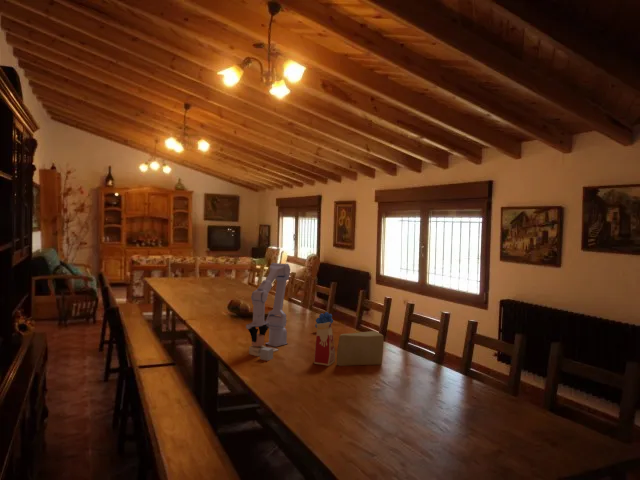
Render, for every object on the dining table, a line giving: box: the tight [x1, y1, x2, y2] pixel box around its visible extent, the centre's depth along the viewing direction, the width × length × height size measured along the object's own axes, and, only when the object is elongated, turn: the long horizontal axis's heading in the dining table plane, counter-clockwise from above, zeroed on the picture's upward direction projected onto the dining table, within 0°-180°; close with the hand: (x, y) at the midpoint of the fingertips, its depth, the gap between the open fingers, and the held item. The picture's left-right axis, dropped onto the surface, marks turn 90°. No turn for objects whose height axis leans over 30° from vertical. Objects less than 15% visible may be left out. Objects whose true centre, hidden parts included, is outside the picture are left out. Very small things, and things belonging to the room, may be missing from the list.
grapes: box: [314, 311, 334, 329], centre depth 296 cm, size 12×7×12 cm, turn 110°
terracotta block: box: [251, 333, 265, 347], centre depth 243 cm, size 4×4×5 cm
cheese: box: [336, 330, 385, 367], centre depth 233 cm, size 22×10×15 cm, turn 111°
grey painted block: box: [259, 346, 274, 362], centre depth 236 cm, size 4×4×5 cm
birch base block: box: [248, 345, 267, 357], centre depth 243 cm, size 6×6×4 cm
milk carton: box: [313, 322, 336, 367], centre depth 234 cm, size 9×9×20 cm
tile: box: [267, 346, 279, 353], centre depth 251 cm, size 7×7×1 cm
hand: (257, 340), depth 243 cm, fingers closed on terracotta block, 4 cm apart
